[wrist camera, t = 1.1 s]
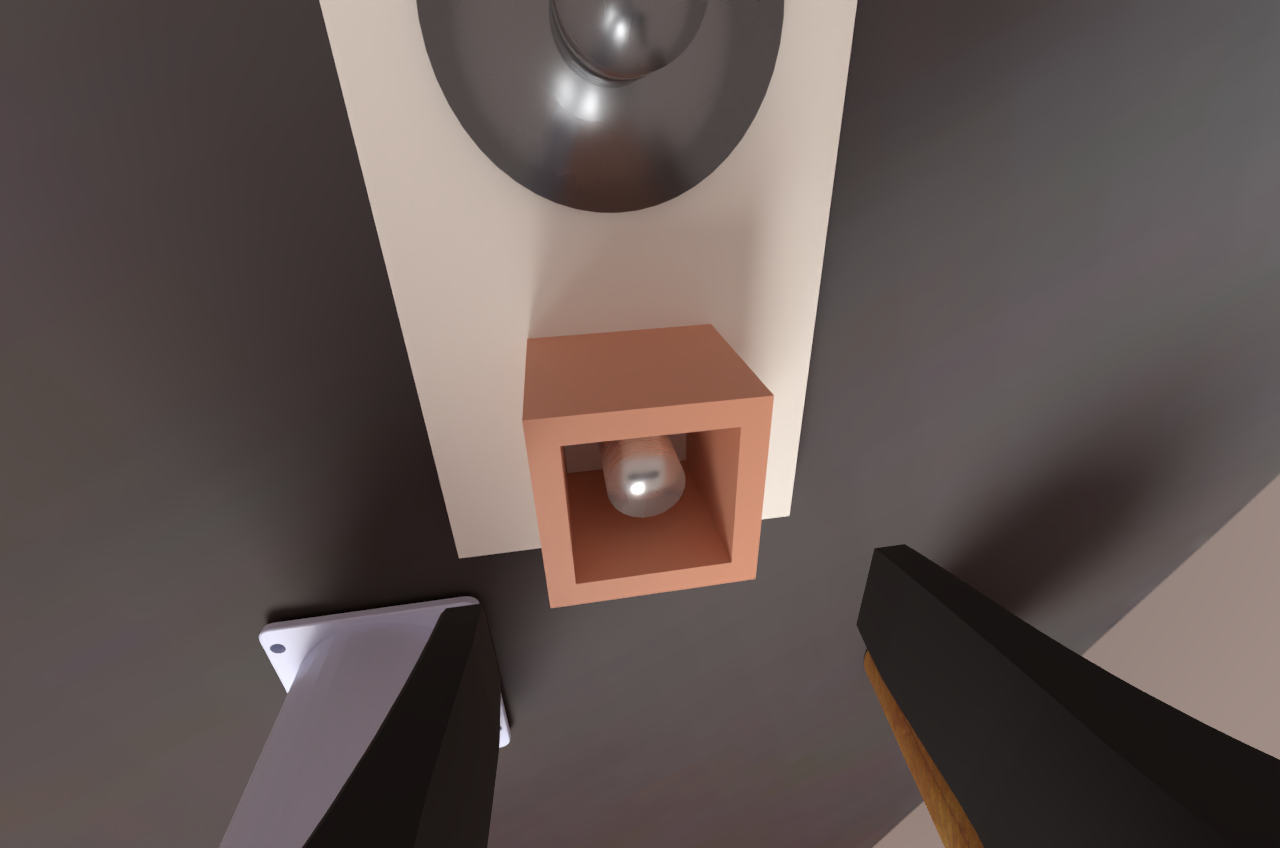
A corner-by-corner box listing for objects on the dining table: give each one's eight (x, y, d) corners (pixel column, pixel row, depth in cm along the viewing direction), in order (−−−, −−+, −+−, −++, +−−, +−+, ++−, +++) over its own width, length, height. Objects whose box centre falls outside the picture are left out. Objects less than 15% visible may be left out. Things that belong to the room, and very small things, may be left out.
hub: (762, 203, 15) (830, 225, 11) (458, 218, 14) (430, 248, 10) (794, -227, 11) (913, -396, 7) (374, -249, 10) (284, -456, 6)
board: (774, 492, 22) (789, 515, 20) (464, 530, 20) (459, 558, 19) (857, -249, 12) (896, -296, 11) (271, -285, 10) (232, -345, 9)
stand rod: (656, 437, 18) (684, 512, 14) (595, 443, 17) (609, 521, 14) (655, 381, 17) (686, 447, 13) (590, 387, 16) (604, 456, 13)
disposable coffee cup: (1041, 614, 28) (1330, 893, 18) (909, 721, 31) (1092, 1015, 21) (935, 548, 25) (1224, 853, 14) (796, 676, 28) (951, 1008, 17)
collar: (705, 474, 19) (755, 578, 14) (548, 493, 18) (550, 608, 14) (710, 323, 16) (774, 395, 12) (527, 338, 15) (522, 420, 11)
